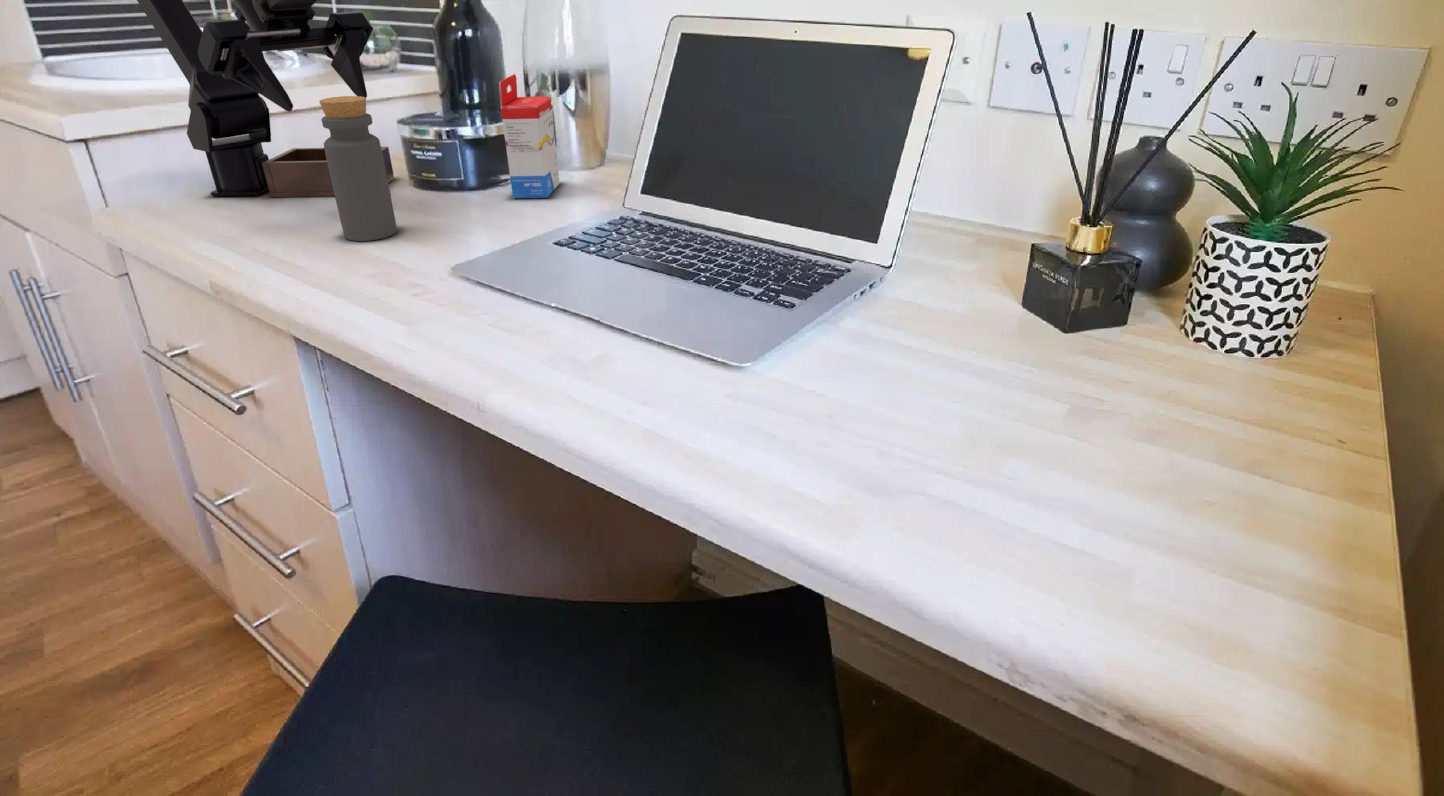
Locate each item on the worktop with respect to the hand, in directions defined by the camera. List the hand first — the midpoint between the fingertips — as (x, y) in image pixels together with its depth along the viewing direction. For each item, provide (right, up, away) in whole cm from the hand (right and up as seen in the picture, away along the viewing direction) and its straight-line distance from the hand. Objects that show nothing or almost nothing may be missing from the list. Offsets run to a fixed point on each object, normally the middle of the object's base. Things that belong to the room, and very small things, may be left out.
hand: (329, 103), depth 97 cm
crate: (-9, -4, +21) cm, 24 cm away
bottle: (+4, -15, +1) cm, 16 cm away
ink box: (+20, -6, +18) cm, 28 cm away
